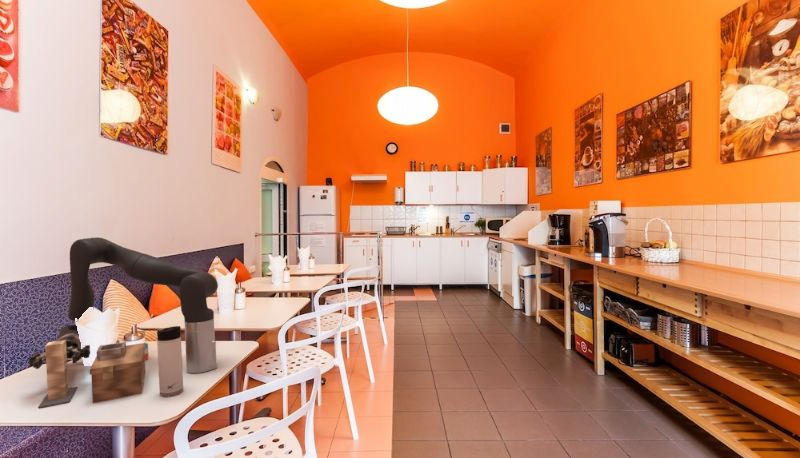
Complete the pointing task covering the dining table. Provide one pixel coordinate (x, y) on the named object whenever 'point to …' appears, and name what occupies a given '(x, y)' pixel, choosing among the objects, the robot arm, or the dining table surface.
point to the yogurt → (146, 351)
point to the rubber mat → (58, 401)
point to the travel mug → (170, 361)
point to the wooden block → (56, 369)
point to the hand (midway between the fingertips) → (55, 362)
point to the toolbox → (118, 371)
